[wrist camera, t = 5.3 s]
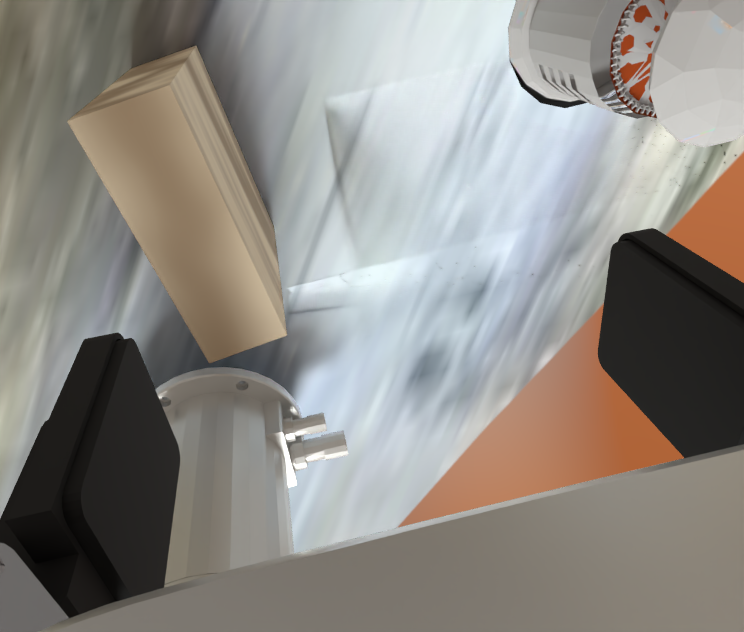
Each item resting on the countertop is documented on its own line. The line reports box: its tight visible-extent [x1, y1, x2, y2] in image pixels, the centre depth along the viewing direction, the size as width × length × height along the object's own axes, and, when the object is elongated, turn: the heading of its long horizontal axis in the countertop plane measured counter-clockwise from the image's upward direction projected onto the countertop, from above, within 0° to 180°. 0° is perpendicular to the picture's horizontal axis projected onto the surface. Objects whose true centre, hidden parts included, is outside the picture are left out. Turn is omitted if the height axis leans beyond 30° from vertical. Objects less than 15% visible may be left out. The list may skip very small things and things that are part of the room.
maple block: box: [67, 46, 287, 363], centre depth 30 cm, size 4×12×14 cm, turn 16°
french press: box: [508, 0, 744, 147], centre depth 26 cm, size 10×12×25 cm
